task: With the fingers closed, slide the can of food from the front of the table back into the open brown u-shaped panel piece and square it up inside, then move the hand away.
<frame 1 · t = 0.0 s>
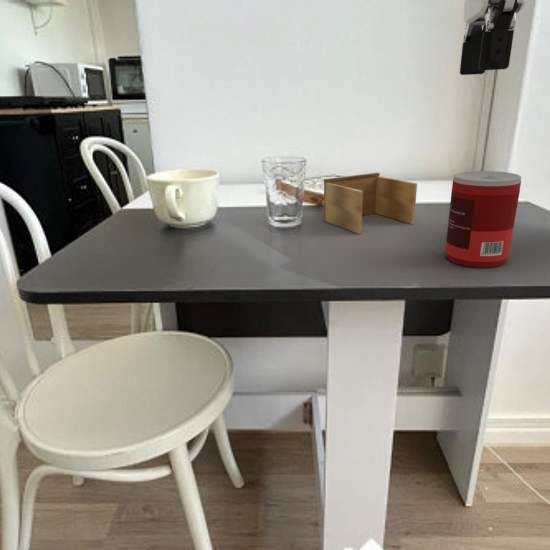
hand: (481, 72, 56), 23 cm above the table, tool pointing down, fingers open, 9 cm apart
canned food: (475, 260, 59), on the table
brown u-shaped panel piece: (367, 222, 78), on the table
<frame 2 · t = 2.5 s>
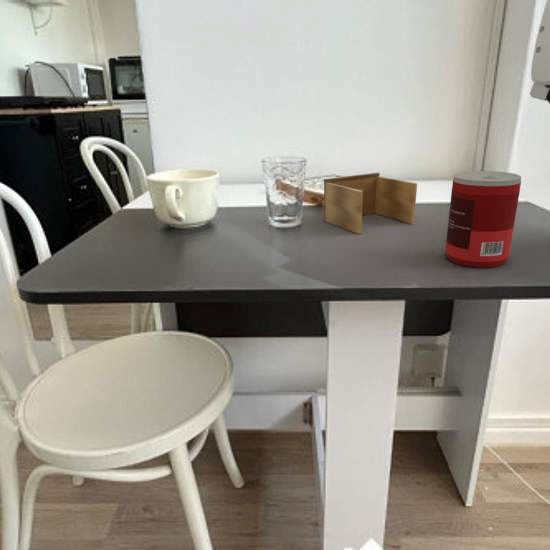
nothing on the table moved.
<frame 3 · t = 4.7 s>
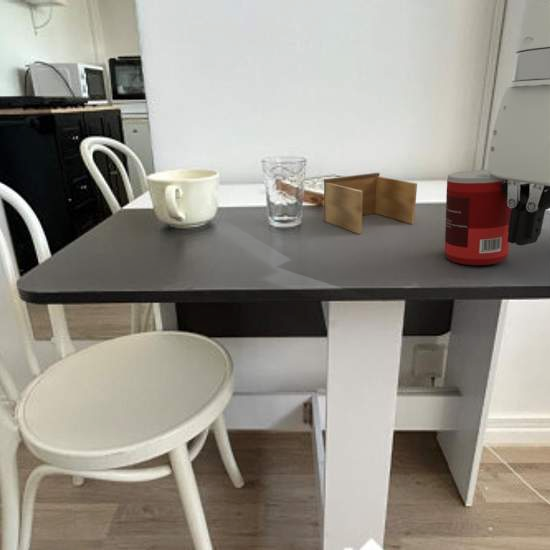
hand: (522, 241, 51), 4 cm above the table, tool pointing down, fingers closed
canned food: (475, 258, 59), on the table, touching gripper
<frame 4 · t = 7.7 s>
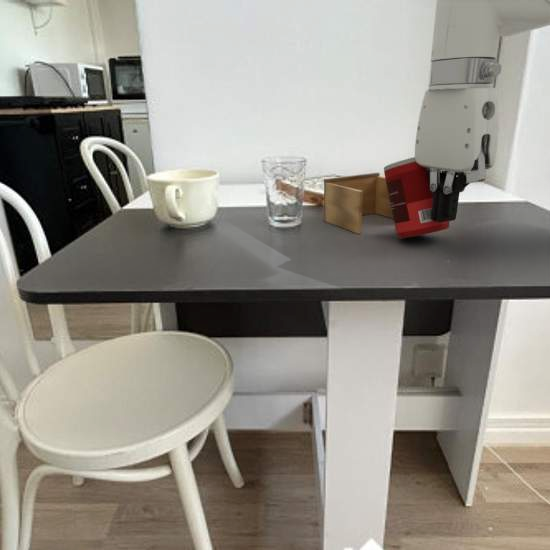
hand: (443, 219, 61), 4 cm above the table, tool pointing down, fingers closed
canned food: (424, 234, 66), point 1 cm above the table, touching gripper
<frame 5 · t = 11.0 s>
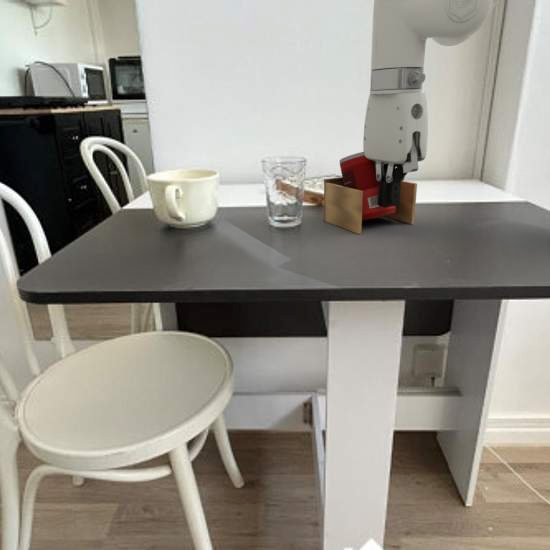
hand: (388, 205, 72), 4 cm above the table, tool pointing down, fingers closed
canned food: (374, 218, 76), point 1 cm above the table, touching brown u-shaped panel piece, gripper
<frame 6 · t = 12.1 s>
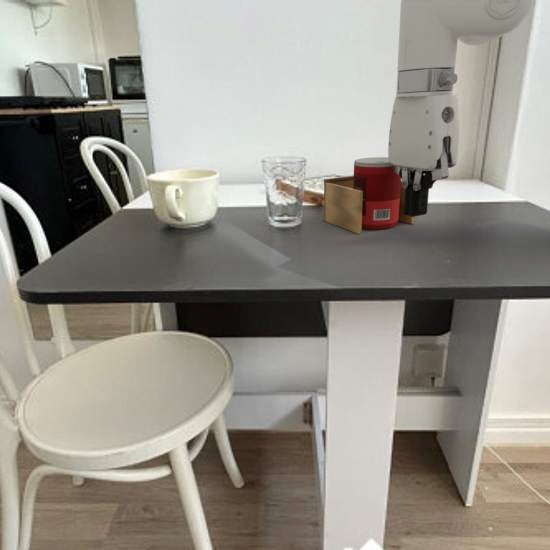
hand: (415, 214, 67), 4 cm above the table, tool pointing down, fingers closed
canned food: (374, 225, 77), on the table
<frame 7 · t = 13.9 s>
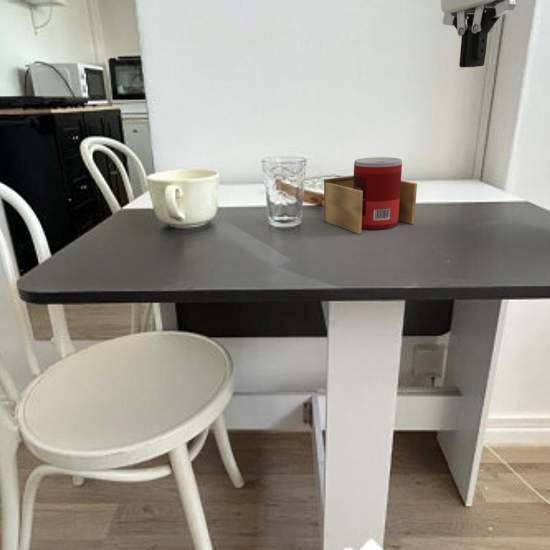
hand: (471, 66, 62), 24 cm above the table, tool pointing down, fingers closed
nothing on the table moved.
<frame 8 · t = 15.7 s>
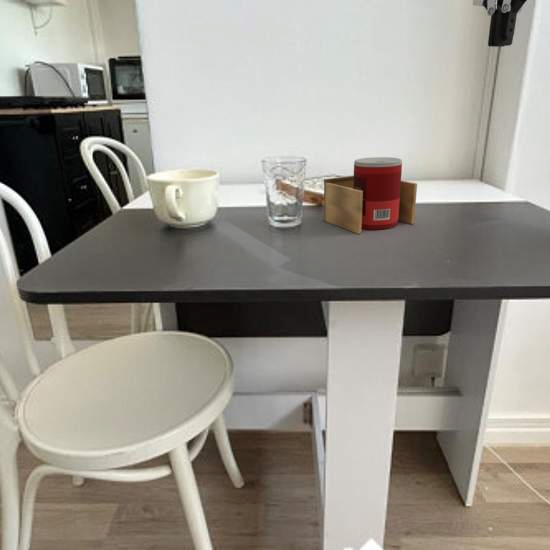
hand: (499, 45, 64), 27 cm above the table, tool pointing down, fingers closed
nothing on the table moved.
at the end: canned food 1.8 cm off-centre on the brown u-shaped panel piece, point 0.0 cm above the brown u-shaped panel piece's base; canned food tilted 0° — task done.
